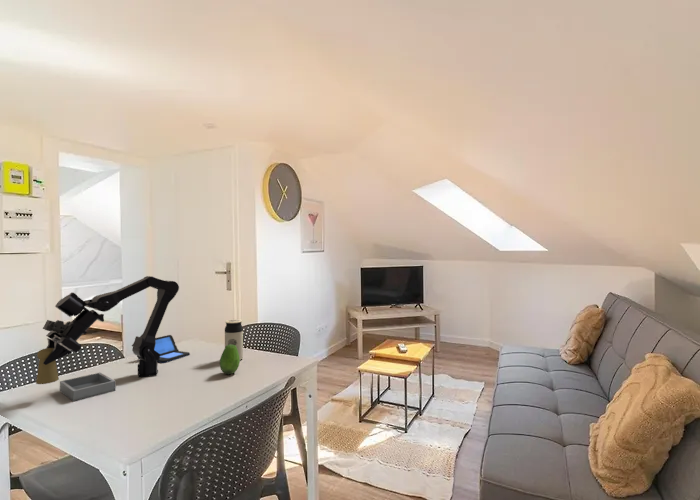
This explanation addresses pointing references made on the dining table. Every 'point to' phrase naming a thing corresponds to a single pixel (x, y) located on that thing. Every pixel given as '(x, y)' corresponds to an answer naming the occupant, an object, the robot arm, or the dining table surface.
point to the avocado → (229, 359)
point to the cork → (46, 368)
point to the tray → (87, 386)
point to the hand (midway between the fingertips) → (42, 362)
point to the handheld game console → (168, 349)
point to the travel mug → (234, 335)
